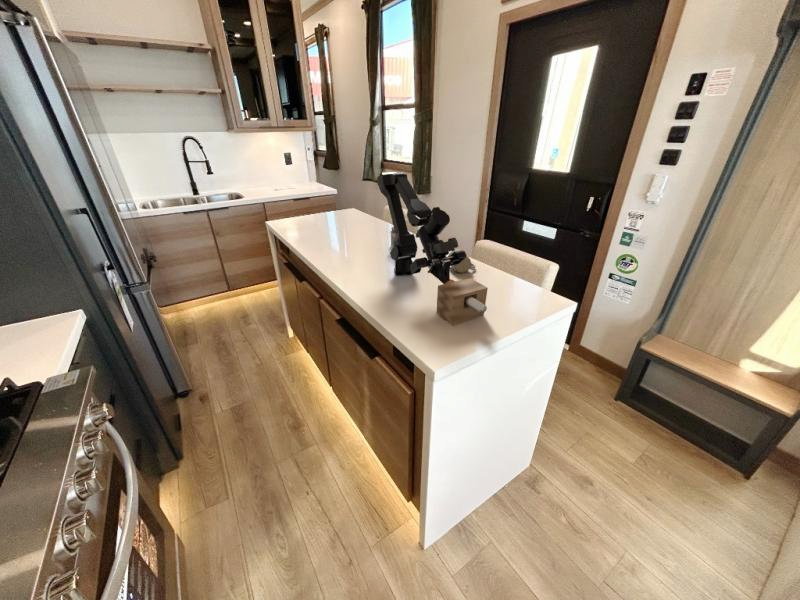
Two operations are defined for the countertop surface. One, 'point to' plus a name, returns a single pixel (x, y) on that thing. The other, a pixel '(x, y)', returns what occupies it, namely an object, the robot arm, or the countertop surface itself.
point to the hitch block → (459, 300)
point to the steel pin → (472, 302)
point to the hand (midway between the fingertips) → (448, 285)
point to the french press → (393, 234)
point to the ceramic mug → (463, 264)
